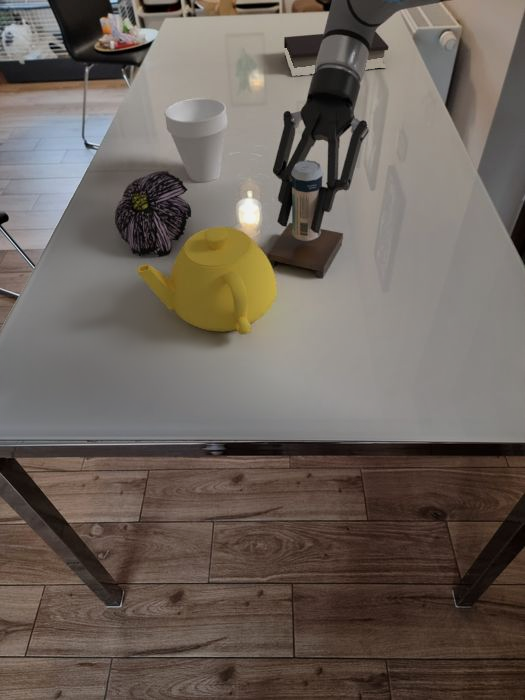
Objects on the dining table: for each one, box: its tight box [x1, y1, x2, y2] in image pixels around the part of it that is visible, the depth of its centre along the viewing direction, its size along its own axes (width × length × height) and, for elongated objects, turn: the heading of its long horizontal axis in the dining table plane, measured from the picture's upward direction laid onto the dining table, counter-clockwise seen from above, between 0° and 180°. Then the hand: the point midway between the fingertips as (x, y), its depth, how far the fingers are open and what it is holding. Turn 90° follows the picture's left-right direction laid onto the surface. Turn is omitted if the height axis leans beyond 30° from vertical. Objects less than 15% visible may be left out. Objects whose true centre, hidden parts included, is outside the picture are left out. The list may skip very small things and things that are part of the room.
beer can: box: [291, 159, 324, 241], centre depth 79 cm, size 5×5×12 cm
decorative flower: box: [114, 170, 192, 258], centre depth 89 cm, size 15×12×15 cm
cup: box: [164, 97, 228, 183], centre depth 103 cm, size 12×12×14 cm
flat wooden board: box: [266, 222, 344, 279], centre depth 85 cm, size 10×10×2 cm
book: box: [283, 30, 389, 68], centre depth 152 cm, size 28×20×6 cm
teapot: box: [136, 226, 278, 335], centre depth 73 cm, size 20×19×13 cm
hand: (298, 227), depth 78 cm, fingers closed on beer can, 5 cm apart
